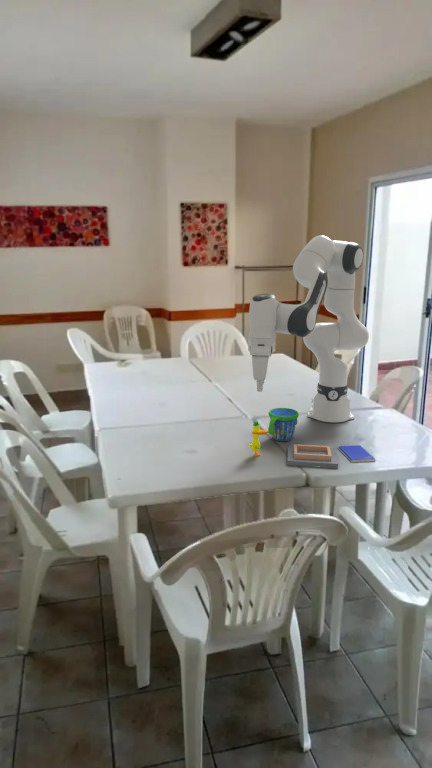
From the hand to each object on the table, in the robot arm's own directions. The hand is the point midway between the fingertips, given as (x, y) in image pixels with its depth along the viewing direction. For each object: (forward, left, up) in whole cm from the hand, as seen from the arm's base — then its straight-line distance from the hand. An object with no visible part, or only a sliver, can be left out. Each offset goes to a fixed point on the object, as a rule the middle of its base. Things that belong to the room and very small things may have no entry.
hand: (260, 387), depth 184 cm
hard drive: (-6, +33, -25) cm, 41 cm away
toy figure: (0, 0, -24) cm, 24 cm away
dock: (0, +18, -24) cm, 30 cm away
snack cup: (-18, +8, -24) cm, 31 cm away
